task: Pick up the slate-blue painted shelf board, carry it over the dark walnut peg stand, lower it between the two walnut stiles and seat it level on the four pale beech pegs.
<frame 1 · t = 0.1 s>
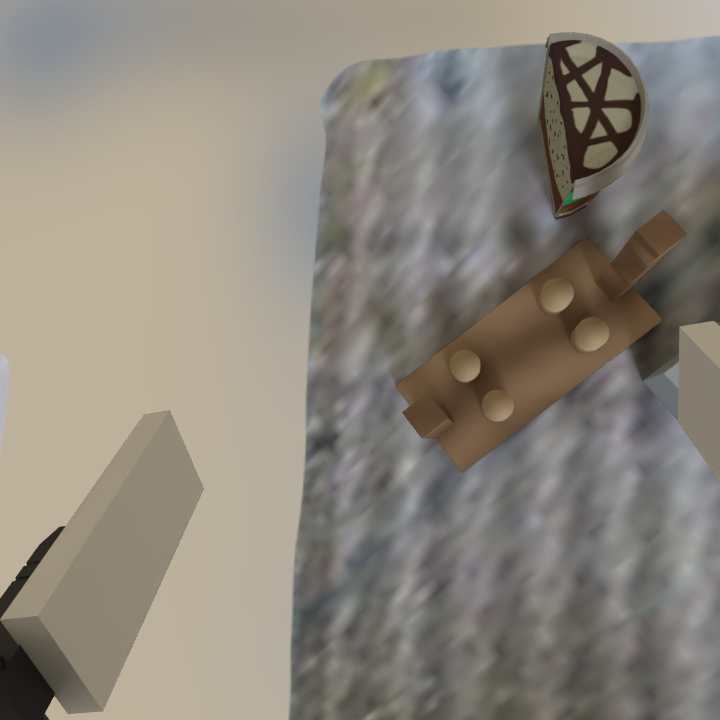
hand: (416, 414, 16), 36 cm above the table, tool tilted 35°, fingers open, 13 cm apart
food container: (582, 162, 52), on the table
peg stand: (523, 356, 50), on the table
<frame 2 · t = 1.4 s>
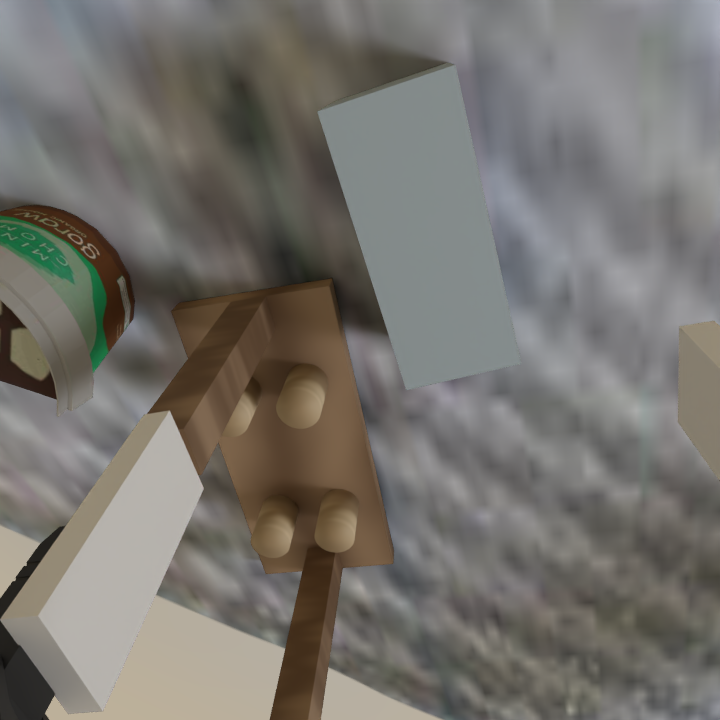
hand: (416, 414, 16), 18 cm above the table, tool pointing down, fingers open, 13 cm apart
shelf board: (425, 214, 31), on the table
food container: (62, 241, 33), on the table
peg stand: (296, 438, 38), on the table
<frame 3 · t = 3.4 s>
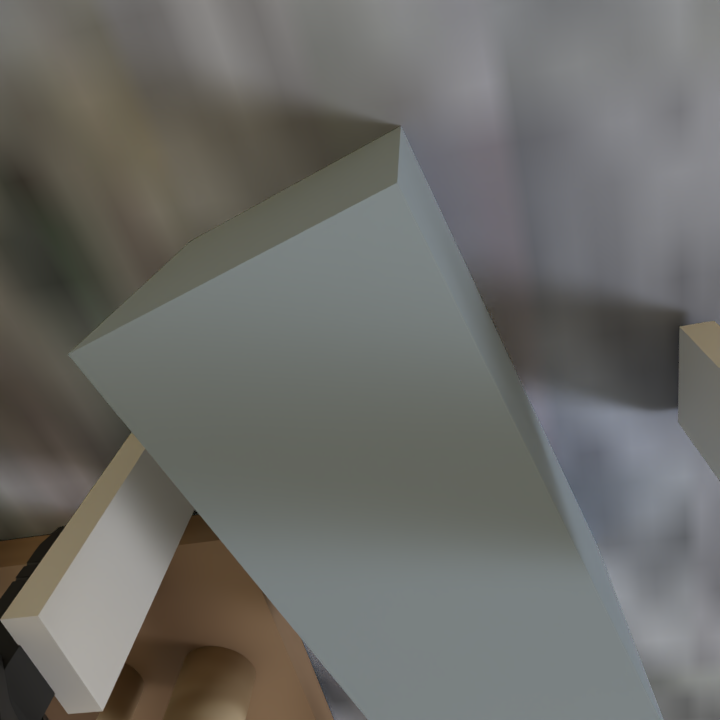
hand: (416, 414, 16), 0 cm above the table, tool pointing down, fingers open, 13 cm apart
shelf board: (416, 405, 16), on the table
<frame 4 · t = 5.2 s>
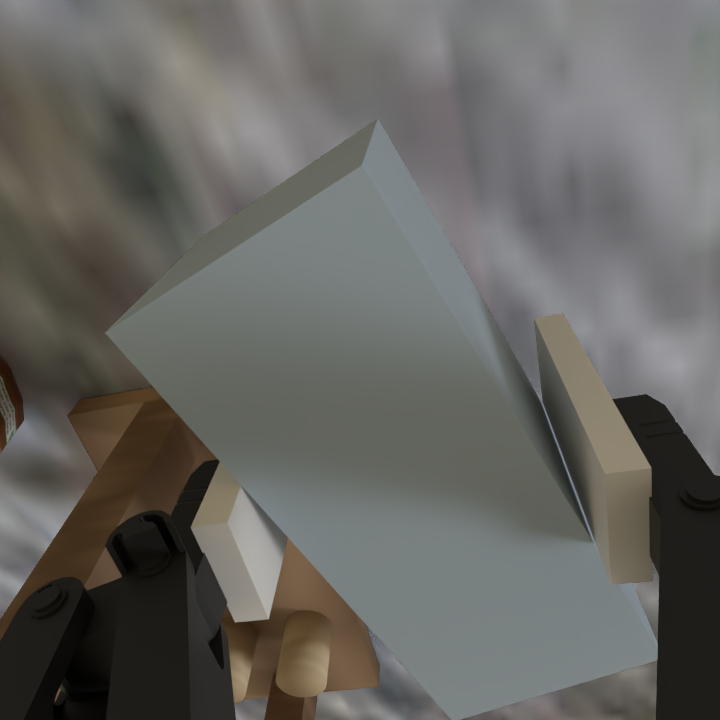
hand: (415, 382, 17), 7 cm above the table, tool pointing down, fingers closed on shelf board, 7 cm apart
shelf board: (415, 372, 18), point 6 cm above the table, touching gripper
peg stand: (249, 550, 30), on the table
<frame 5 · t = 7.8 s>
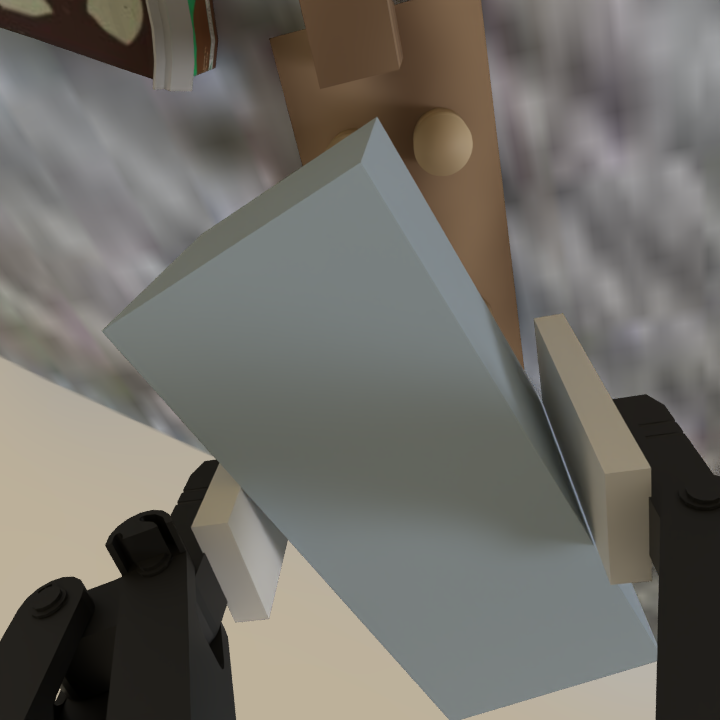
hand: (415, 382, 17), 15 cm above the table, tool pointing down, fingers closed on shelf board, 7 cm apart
shelf board: (414, 372, 18), point 15 cm above the table, touching gripper
peg stand: (414, 232, 31), on the table
when the fingers open (4 cm above the table, at t = 10.5 s): shelf board stays where it is, resting on peg stand.
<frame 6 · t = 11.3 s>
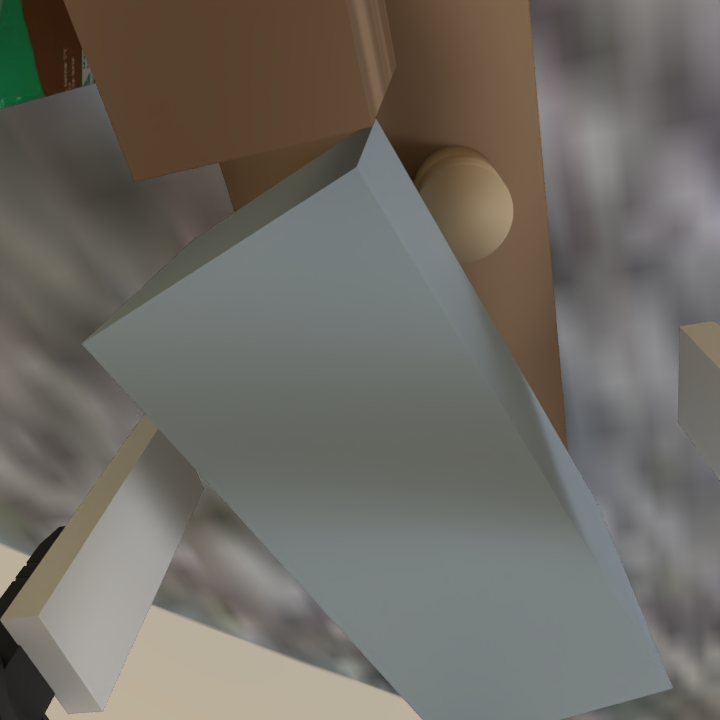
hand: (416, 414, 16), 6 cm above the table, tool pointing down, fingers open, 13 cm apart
shelf board: (413, 383, 17), point 4 cm above the table, touching peg stand
peg stand: (414, 323, 21), on the table
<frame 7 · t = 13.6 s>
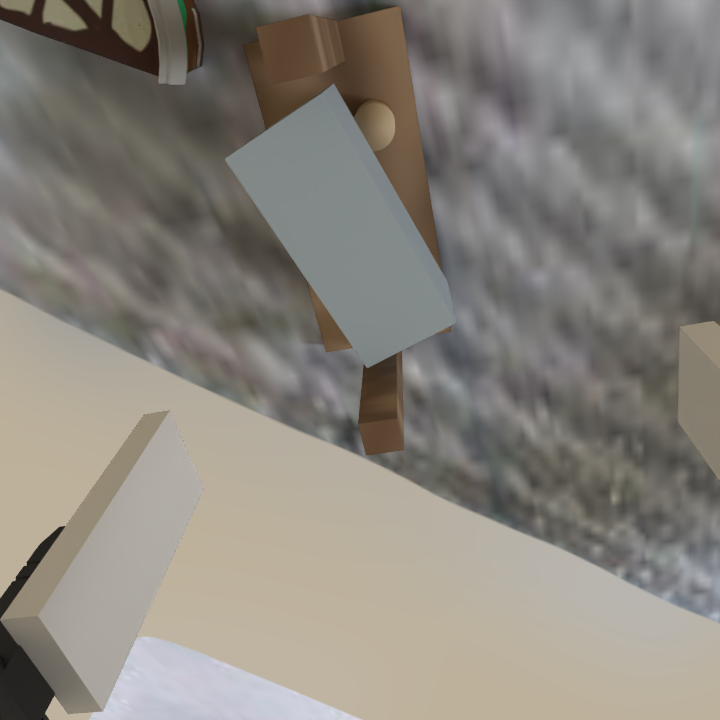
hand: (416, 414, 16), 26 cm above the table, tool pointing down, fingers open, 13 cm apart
shelf board: (354, 214, 35), point 4 cm above the table, touching peg stand
peg stand: (358, 198, 39), on the table
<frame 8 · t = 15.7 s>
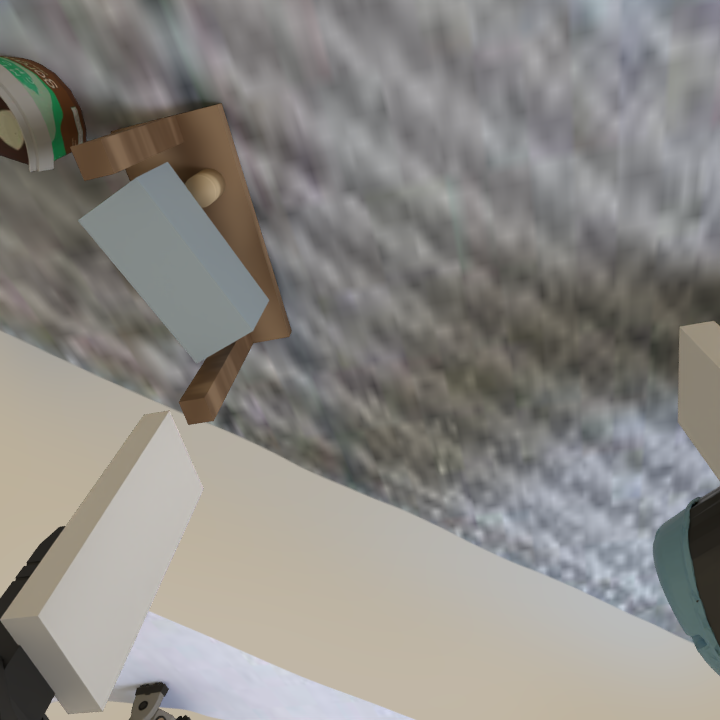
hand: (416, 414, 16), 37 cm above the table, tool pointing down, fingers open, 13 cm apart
shelf board: (194, 251, 48), point 4 cm above the table, touching peg stand
food container: (32, 85, 47), on the table
figurine: (154, 702, 85), on the table
peg stand: (210, 237, 52), on the table
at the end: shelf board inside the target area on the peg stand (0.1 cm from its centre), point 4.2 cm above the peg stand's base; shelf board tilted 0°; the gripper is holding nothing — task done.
